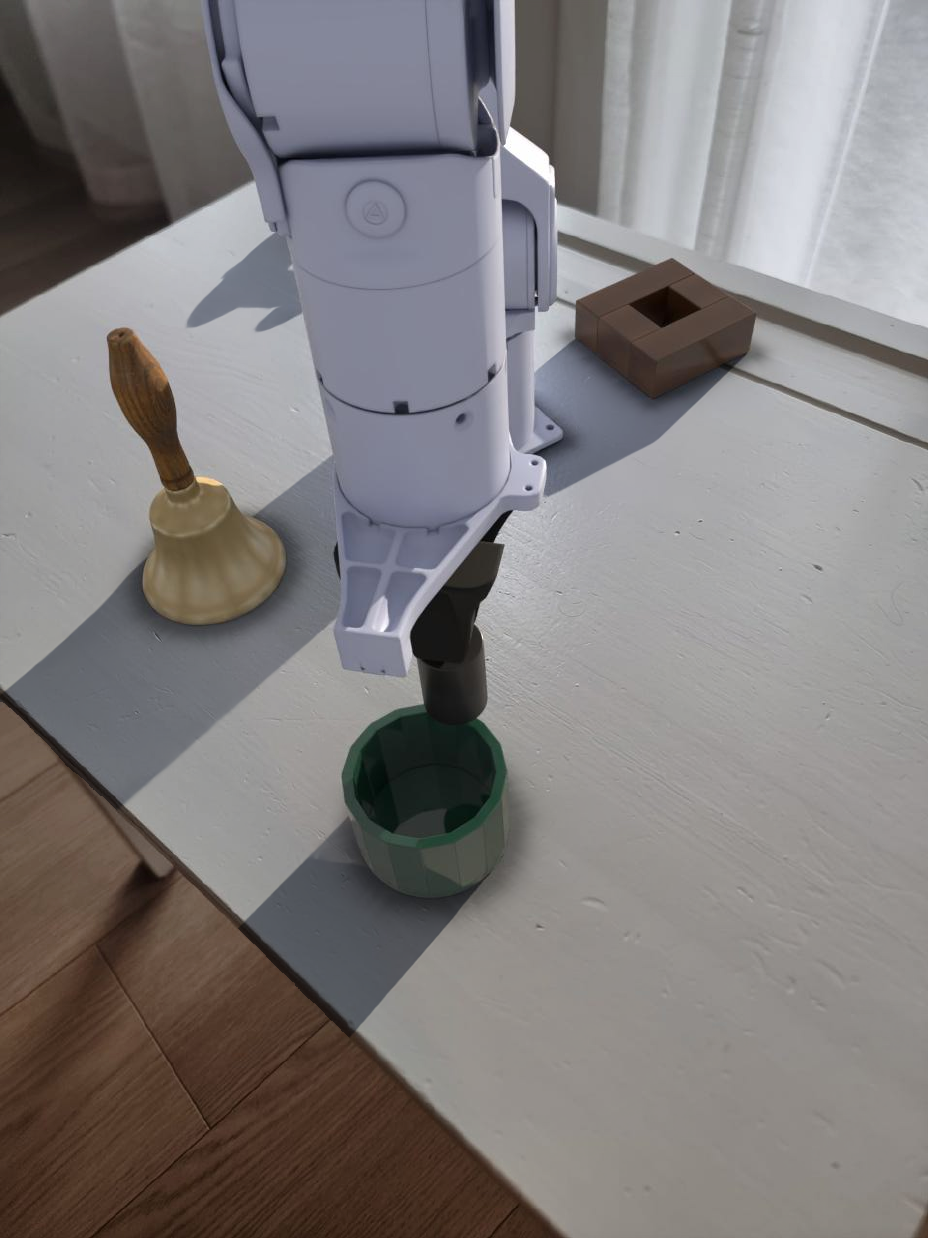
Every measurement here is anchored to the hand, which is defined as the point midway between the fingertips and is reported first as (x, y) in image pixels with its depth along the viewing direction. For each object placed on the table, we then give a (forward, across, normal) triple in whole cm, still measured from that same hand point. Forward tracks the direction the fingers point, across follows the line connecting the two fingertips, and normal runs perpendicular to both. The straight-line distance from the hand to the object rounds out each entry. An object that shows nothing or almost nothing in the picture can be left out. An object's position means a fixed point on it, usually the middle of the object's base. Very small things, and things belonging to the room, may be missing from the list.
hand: (444, 636), depth 40 cm
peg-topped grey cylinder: (+4, 0, 0) cm, 4 cm away
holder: (+10, +35, -6) cm, 37 cm away
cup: (+10, -3, +1) cm, 11 cm away
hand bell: (+11, +10, +17) cm, 22 cm away
